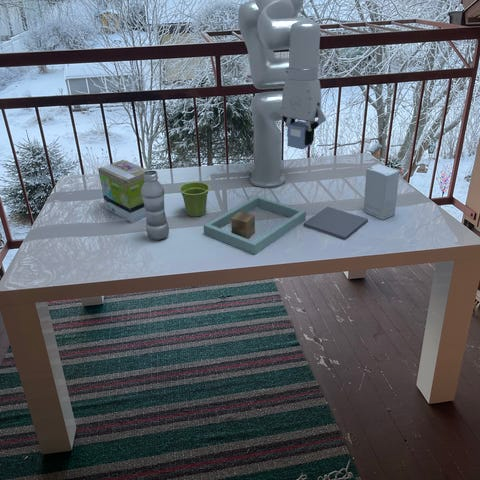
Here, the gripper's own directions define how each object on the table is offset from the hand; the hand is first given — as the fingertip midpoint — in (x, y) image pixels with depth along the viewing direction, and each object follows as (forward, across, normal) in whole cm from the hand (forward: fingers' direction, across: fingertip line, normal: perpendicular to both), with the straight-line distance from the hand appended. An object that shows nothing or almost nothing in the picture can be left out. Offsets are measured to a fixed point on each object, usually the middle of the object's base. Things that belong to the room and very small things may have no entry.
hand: (300, 141), depth 131 cm
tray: (+25, -8, -10) cm, 28 cm away
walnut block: (+25, -8, -16) cm, 31 cm away
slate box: (+1, 0, 0) cm, 1 cm away
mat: (+25, +10, +6) cm, 28 cm away
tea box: (+26, -47, -26) cm, 60 cm away
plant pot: (+26, -29, -14) cm, 41 cm away
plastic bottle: (+26, -27, -32) cm, 49 cm away
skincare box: (+26, +17, +20) cm, 37 cm away
